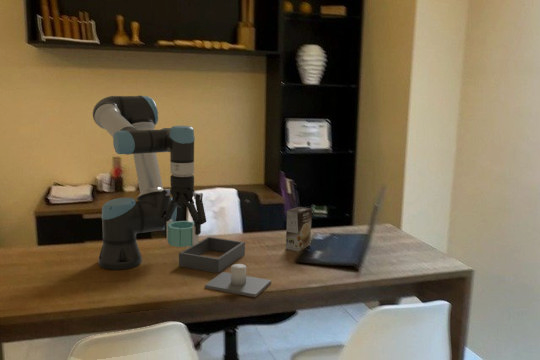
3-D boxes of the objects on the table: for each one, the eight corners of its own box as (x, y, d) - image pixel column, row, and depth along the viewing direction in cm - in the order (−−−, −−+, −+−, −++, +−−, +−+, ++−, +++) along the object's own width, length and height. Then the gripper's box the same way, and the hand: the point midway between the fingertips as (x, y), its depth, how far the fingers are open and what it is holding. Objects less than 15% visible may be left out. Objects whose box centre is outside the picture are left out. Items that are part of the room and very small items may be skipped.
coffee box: (298, 252, 210) (299, 212, 207) (285, 248, 214) (286, 210, 211) (310, 246, 217) (312, 208, 214) (297, 243, 221) (298, 206, 218)
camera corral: (179, 266, 192) (178, 253, 191) (208, 248, 212) (208, 236, 211) (218, 273, 186) (218, 259, 185) (244, 254, 206) (244, 242, 205)
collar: (163, 244, 173) (163, 226, 171) (178, 236, 181) (177, 219, 180) (187, 248, 169) (187, 230, 168) (201, 240, 177) (201, 223, 176)
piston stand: (204, 287, 173) (204, 268, 172) (223, 274, 185) (223, 256, 183) (255, 297, 166) (256, 277, 165) (271, 283, 178) (271, 264, 177)
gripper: (146, 173, 171) (148, 239, 175) (206, 180, 163) (206, 249, 168) (160, 169, 178) (160, 233, 182) (217, 175, 170) (217, 243, 174)
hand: (182, 241), depth 175 cm, fingers closed on collar, 9 cm apart
